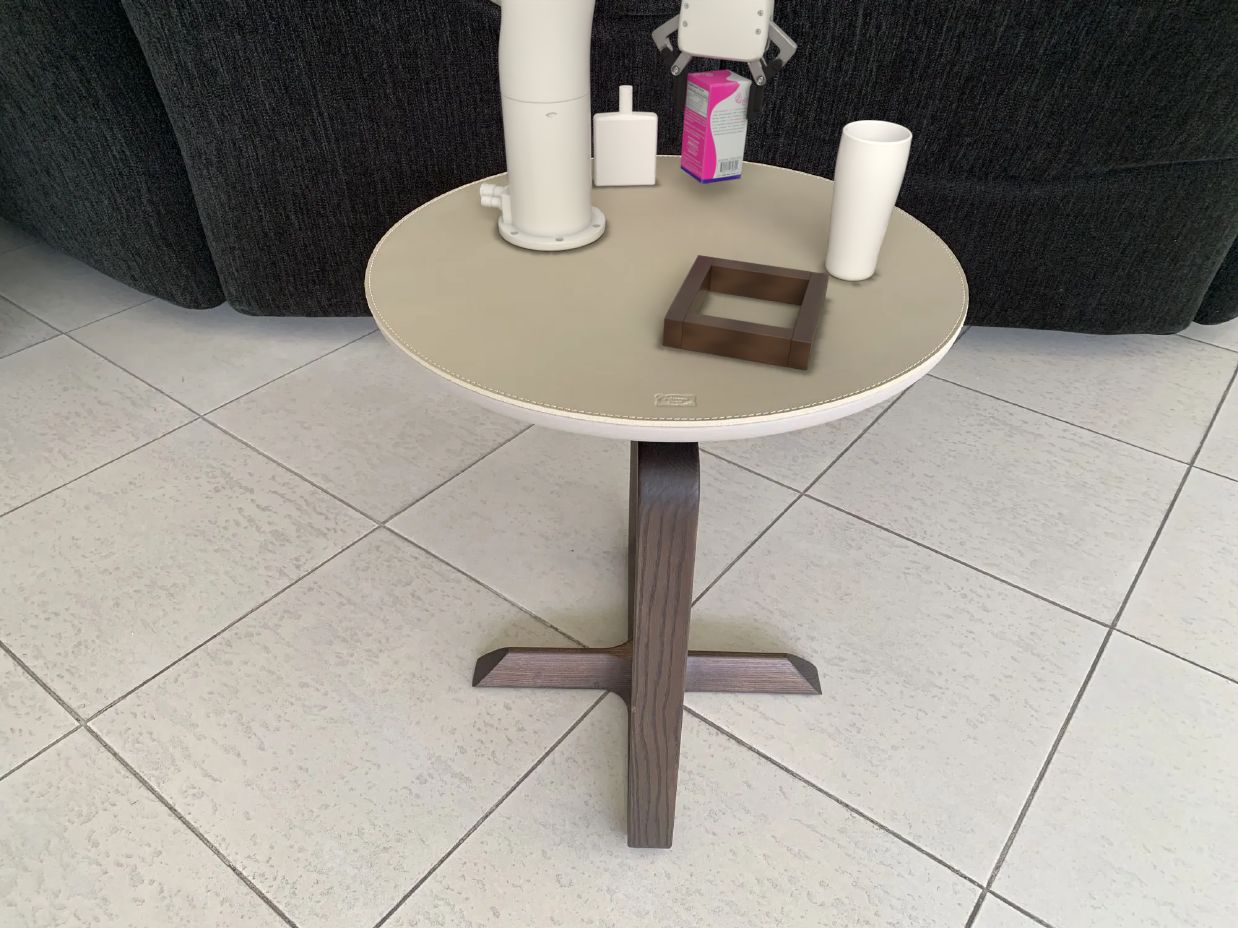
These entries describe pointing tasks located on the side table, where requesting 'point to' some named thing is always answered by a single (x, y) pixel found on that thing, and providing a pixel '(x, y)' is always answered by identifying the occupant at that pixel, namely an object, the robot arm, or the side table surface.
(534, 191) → the robot arm
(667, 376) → the side table surface
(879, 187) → the drinking glass
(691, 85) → the supplement box
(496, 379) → the side table surface
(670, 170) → the side table surface
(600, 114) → the perfume bottle
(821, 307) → the socket
